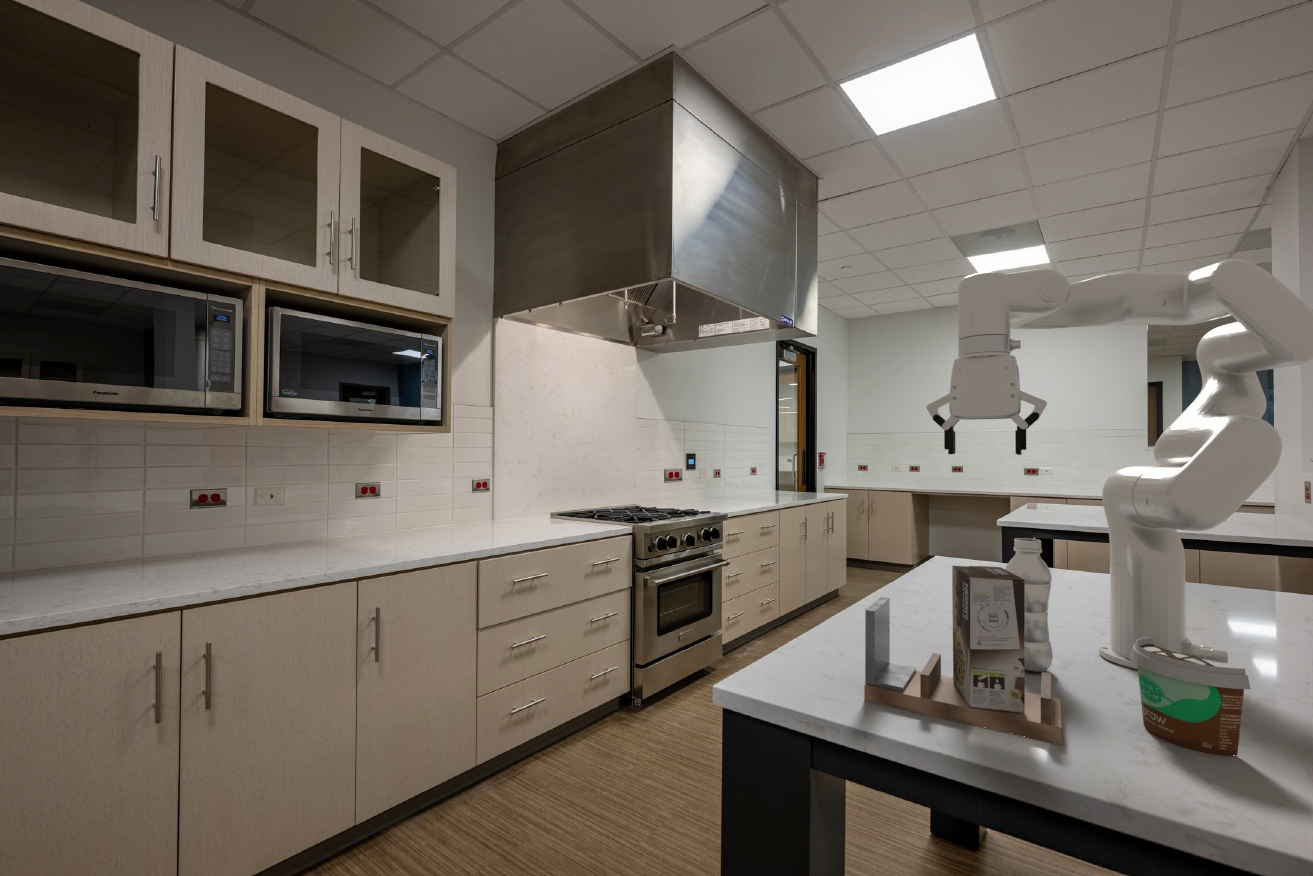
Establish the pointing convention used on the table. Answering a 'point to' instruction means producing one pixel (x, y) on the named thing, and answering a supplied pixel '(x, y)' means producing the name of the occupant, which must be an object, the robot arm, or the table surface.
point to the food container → (1189, 699)
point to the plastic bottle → (1034, 602)
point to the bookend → (882, 650)
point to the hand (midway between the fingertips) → (984, 454)
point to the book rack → (947, 702)
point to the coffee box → (989, 637)
